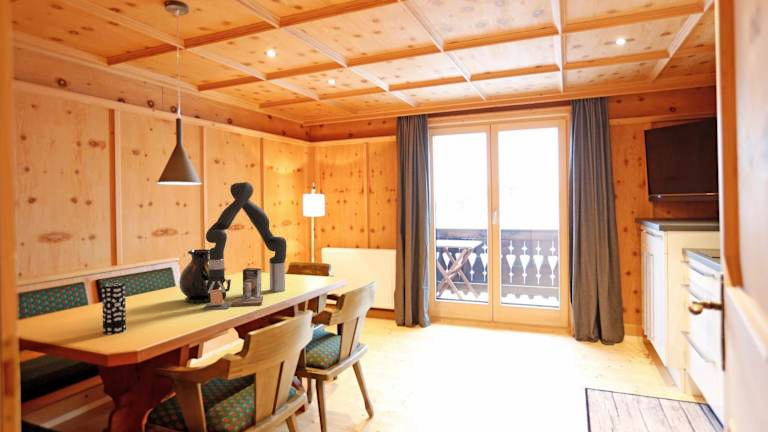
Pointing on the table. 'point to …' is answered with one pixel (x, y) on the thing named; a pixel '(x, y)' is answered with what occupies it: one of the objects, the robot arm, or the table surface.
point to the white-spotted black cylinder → (113, 308)
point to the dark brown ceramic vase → (196, 277)
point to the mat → (216, 306)
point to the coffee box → (252, 281)
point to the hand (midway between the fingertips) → (217, 299)
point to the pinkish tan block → (216, 297)
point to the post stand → (247, 298)
